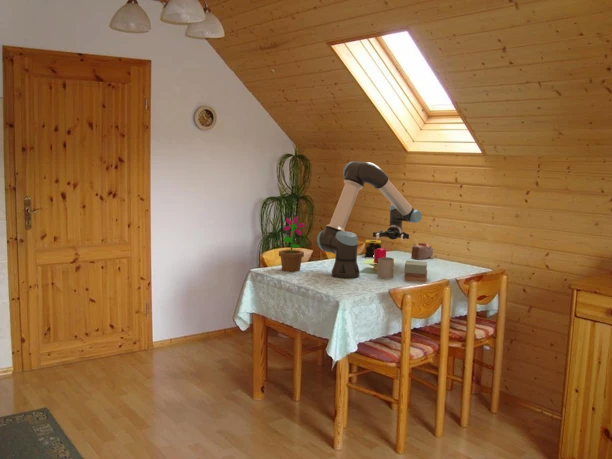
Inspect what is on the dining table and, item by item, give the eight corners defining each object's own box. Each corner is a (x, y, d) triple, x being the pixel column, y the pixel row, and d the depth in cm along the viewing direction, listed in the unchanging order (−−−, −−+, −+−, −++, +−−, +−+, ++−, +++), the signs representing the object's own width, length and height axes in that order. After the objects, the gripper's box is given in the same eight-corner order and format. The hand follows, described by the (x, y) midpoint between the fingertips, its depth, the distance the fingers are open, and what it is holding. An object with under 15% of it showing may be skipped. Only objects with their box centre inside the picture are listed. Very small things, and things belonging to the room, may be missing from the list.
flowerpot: (306, 268, 359) (307, 216, 355) (300, 273, 346) (301, 218, 342) (282, 266, 363) (283, 214, 359) (274, 271, 349) (275, 217, 345)
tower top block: (425, 274, 332) (426, 265, 332) (404, 272, 335) (404, 264, 334) (426, 270, 343) (427, 261, 342) (406, 268, 345) (406, 260, 345)
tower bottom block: (425, 282, 333) (425, 274, 332) (404, 280, 336) (404, 272, 335) (426, 278, 343) (427, 270, 343) (406, 276, 346) (406, 268, 345)
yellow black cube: (380, 255, 407) (381, 240, 406) (381, 258, 397) (381, 242, 396) (365, 254, 408) (365, 239, 407) (364, 257, 398) (365, 242, 397)
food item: (423, 256, 409) (424, 241, 407) (433, 258, 403) (434, 242, 401) (409, 258, 400) (410, 243, 398) (420, 260, 394) (420, 244, 392)
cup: (380, 278, 338) (381, 260, 336) (375, 275, 345) (375, 257, 344) (395, 278, 340) (396, 259, 338) (389, 275, 348) (390, 257, 346)
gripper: (414, 239, 367) (411, 245, 347) (372, 237, 373) (366, 243, 353) (415, 227, 366) (412, 232, 346) (372, 224, 372) (366, 229, 352)
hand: (389, 237), depth 349 cm, fingers open, 13 cm apart
